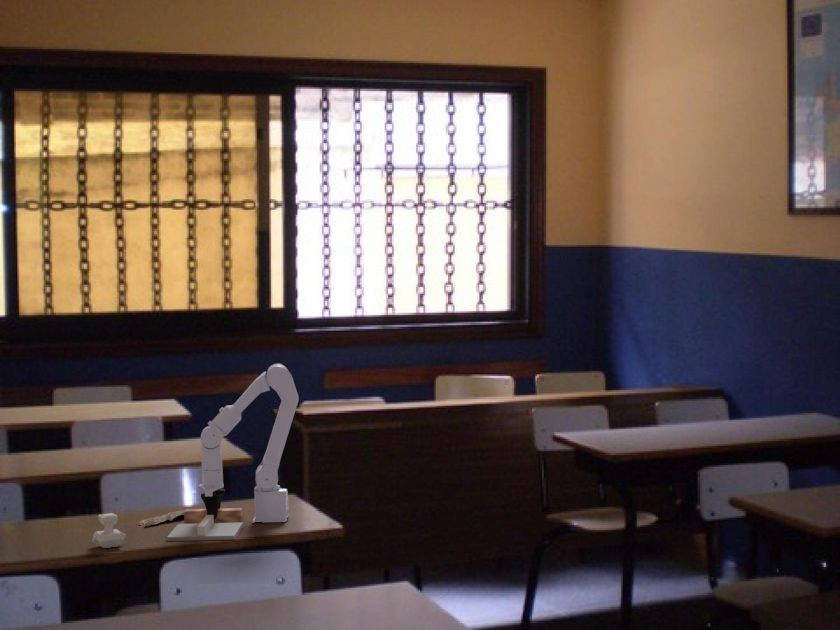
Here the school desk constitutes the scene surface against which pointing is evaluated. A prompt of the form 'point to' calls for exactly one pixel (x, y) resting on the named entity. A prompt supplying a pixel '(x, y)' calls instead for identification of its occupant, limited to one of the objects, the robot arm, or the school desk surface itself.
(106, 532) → the stamp
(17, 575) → the school desk surface
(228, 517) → the stick
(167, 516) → the stone fragment
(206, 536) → the board
